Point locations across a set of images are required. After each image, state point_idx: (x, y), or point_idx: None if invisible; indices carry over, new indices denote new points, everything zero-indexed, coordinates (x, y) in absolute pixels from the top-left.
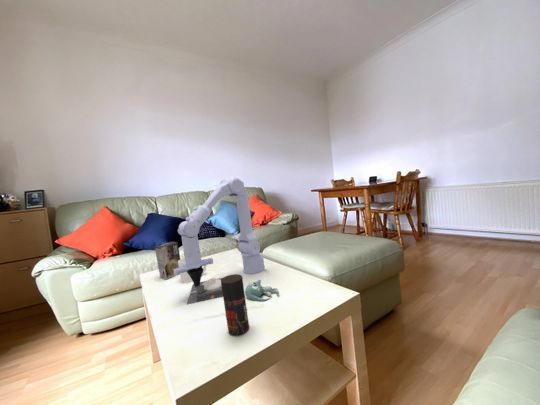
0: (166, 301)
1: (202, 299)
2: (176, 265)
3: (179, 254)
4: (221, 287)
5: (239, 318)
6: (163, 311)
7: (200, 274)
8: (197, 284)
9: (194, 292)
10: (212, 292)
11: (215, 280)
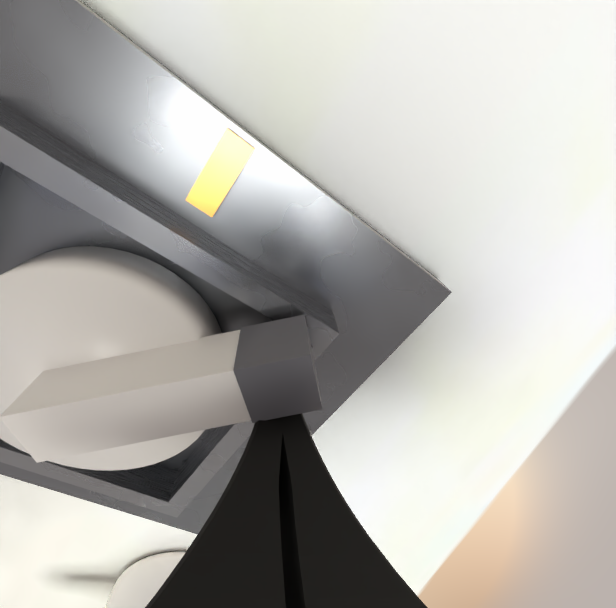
0: (429, 477)
1: (316, 239)
2: None
3: None
4: (29, 260)
5: None
6: (531, 382)
7: (219, 563)
8: (292, 429)
9: None
10: (183, 229)
11: (25, 392)
